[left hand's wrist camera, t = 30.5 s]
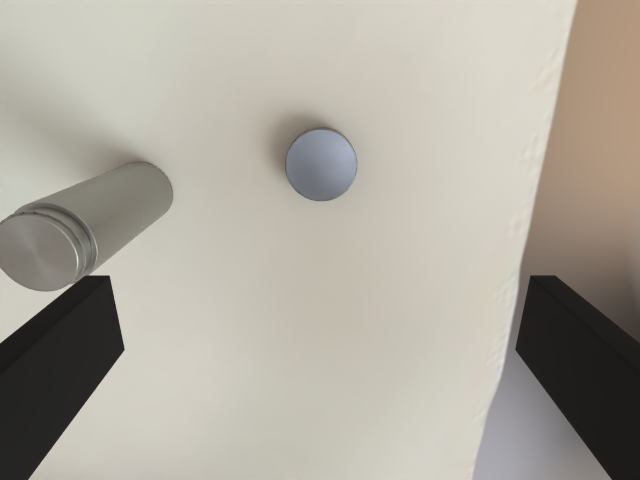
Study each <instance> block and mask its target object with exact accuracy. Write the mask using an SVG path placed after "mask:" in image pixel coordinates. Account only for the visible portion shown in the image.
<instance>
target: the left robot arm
mask: <svg viewBox="0 0 640 480" xmlns="http://www.w3.org/2000/svg"><path fill="white" fill-rule="evenodd" d="M124 350H125V349H124V344H123V339H122V334H121V329H120V324H119V320H118V315H117V310H116V305H115V300H114V295H113V290H112V285H111V280H110V276H84V277H83V278H81V279H80V280H79V281H78V282H76V283H75V284H74V285H73V286H71V287H70V288H69V289H68V290H66V291H65V292H64V293H63V294H61V295H60V296H59V297H58V298H56V299H55V300H54V301H53V302H51V303H50V304H49V305H48V306H46V307H45V308H44V309H43V310H41V311H40V312H39V313H38V314H36V315H35V316H34V317H33V318H31V319H30V320H29V321H28V322H26V323H25V324H24V325H23V326H21V327H20V328H19V329H18V330H16V331H15V332H14V333H13V334H11V335H10V336H9V337H8V338H6V339H5V340H4V341H3V342H1V343H0V480H28V479H29V478H30V476H31V475H32V474H33V472H34V471H35V470H36V468H37V467H38V466H39V464H40V463H41V462H42V460H43V459H44V458H45V456H46V455H47V454H48V452H49V451H50V449H51V448H52V447H53V445H54V444H55V443H56V441H57V440H58V439H59V437H60V436H61V435H62V433H63V432H64V431H65V429H66V428H67V427H68V425H69V424H70V423H71V421H72V420H73V419H74V417H75V416H76V415H77V413H78V412H79V410H80V409H81V408H82V406H83V405H84V404H85V402H86V401H87V400H88V398H89V397H90V396H91V394H92V393H93V392H94V390H95V389H96V388H97V386H98V385H99V384H100V382H101V381H102V380H103V378H104V377H105V376H106V374H107V373H108V371H109V370H110V369H111V367H112V366H113V365H114V363H115V362H116V361H117V359H118V358H119V357H120V355H121V354H122V353H123V351H124ZM516 351H517V353H518V354H519V355H520V357H521V358H522V359H523V361H524V362H525V363H526V365H527V366H528V367H529V369H530V370H531V371H532V373H533V374H534V376H535V377H536V378H537V380H538V381H539V382H540V384H541V385H542V386H543V388H544V389H545V390H546V392H547V393H548V394H549V396H550V397H551V398H552V400H553V401H554V402H555V404H556V405H557V406H558V408H559V409H560V410H561V412H562V413H563V414H564V416H565V417H566V419H567V420H568V421H569V423H570V424H571V425H572V427H573V428H574V429H575V431H576V432H577V433H578V435H579V436H580V437H581V439H582V440H583V441H584V443H585V444H586V445H587V447H588V448H589V449H590V451H591V452H592V453H593V455H594V456H595V457H596V459H597V460H598V462H599V463H600V464H601V466H602V467H603V468H604V470H605V471H606V472H607V474H608V475H609V476H610V478H611V479H612V480H640V343H639V342H637V341H636V340H635V339H634V338H632V337H631V336H630V335H629V334H627V333H626V332H625V331H624V330H622V329H621V328H620V327H619V326H617V325H616V324H615V323H614V322H612V321H611V320H610V319H609V318H607V317H606V316H605V315H604V314H602V313H601V312H600V311H599V310H597V309H596V308H595V307H594V306H592V305H591V304H590V303H589V302H587V301H586V300H585V299H584V298H582V297H581V296H580V295H579V294H577V293H576V292H575V291H574V290H572V289H571V288H570V287H569V286H567V285H566V284H565V283H564V282H562V281H561V280H560V279H559V278H557V277H556V276H530V280H529V286H528V290H527V295H526V300H525V305H524V310H523V315H522V320H521V324H520V330H519V334H518V339H517V344H516Z"/></svg>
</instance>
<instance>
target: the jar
mask: <svg viewBox="0 0 640 480" xmlns="http://www.w3.org/2000/svg"><path fill="white" fill-rule="evenodd" d="M172 199H173V190H172V186H171V183H170V181H169V179H168V178H167V176H166V175H165V174H164V173H163V172H162V171H161V170H160V169H158V168H157V167H155V166H154V165H151V164H149V163H145V162H133V163H129V164H127V165H124V166H122V167H119V168H117V169H114V170H112V171H109V172H107V173H104V174H102V175H99V176H97V177H94V178H92V179H89V180H87V181H84V182H82V183H79V184H77V185H74V186H72V187H69V188H67V189H64V190H62V191H59V192H57V193H54V194H52V195H49V196H47V197H44V198H42V199H39V200H37V201H34V202H32V203H29V204H27V205H24V206H22V207H21V208H19V209H18V210H17V211H15V213H14V214H12V215H10V216H8V217H7V218H6V219H4V220H3V221H1V223H0V268H1V269H2V270H3V271H4V272H5V273H6V274H7V275H8V276H9V277H10V278H11V279H12V280H14V281H15V282H17V283H18V284H20V285H22V286H24V287H26V288H29V289H32V290H36V291H55V290H58V289H61V288H63V287H65V286H67V285H68V284H73V283H76V282H78V281H79V280H80V279H81V278H83V277H84V276H88V275H90V274H91V273H92V272H93V271H94V270H96V269H97V268H98V267H99V266H101V265H102V264H103V263H104V262H106V261H107V260H108V259H109V258H110V257H112V256H113V255H114V254H115V253H117V252H118V251H119V250H120V249H122V248H123V247H124V246H125V245H126V244H128V243H129V242H130V241H131V240H133V239H134V238H135V237H136V236H137V235H139V234H140V233H141V232H142V231H144V230H145V229H146V228H147V227H149V226H150V225H151V224H152V223H153V222H155V221H156V220H157V219H158V218H160V217H161V216H162V215H163V214H165V213H166V212H167V211H168V209H169V208H170V206H171V203H172Z"/></svg>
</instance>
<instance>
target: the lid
mask: <svg viewBox="0 0 640 480" xmlns="http://www.w3.org/2000/svg"><path fill="white" fill-rule="evenodd" d="M285 168H286V174H287V177H288V180H289V182H290V184H291V185H292V187H293V188H294V189H295V190H296V191H297V192H298V193H299V194H301V195H302V196H304V197H305V198H308V199H311V200H314V201H328V200H332V199H335V198H337V197H339V196H341V195H342V194H343V193H345V192H346V191H347V190H348V189H349V187H350V186H351V184H352V183H353V181H354V179H355V176H356V172H357V159H356V154H355V152H354V149H353V148H352V146H351V144H350V142H349V141H348V140H347V139H346V138H345V137H344V136H343V135H342V134H341V133H339V132H337V131H335V130H333V129H329V128H313V129H310V130H307V131H305V132H304V133H302V134H301V135H299V136H298V137H297V138H296V139H295V140H294V142H293V143H292V145H291V147H290V149H289V151H288V153H287V157H286V163H285Z"/></svg>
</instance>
